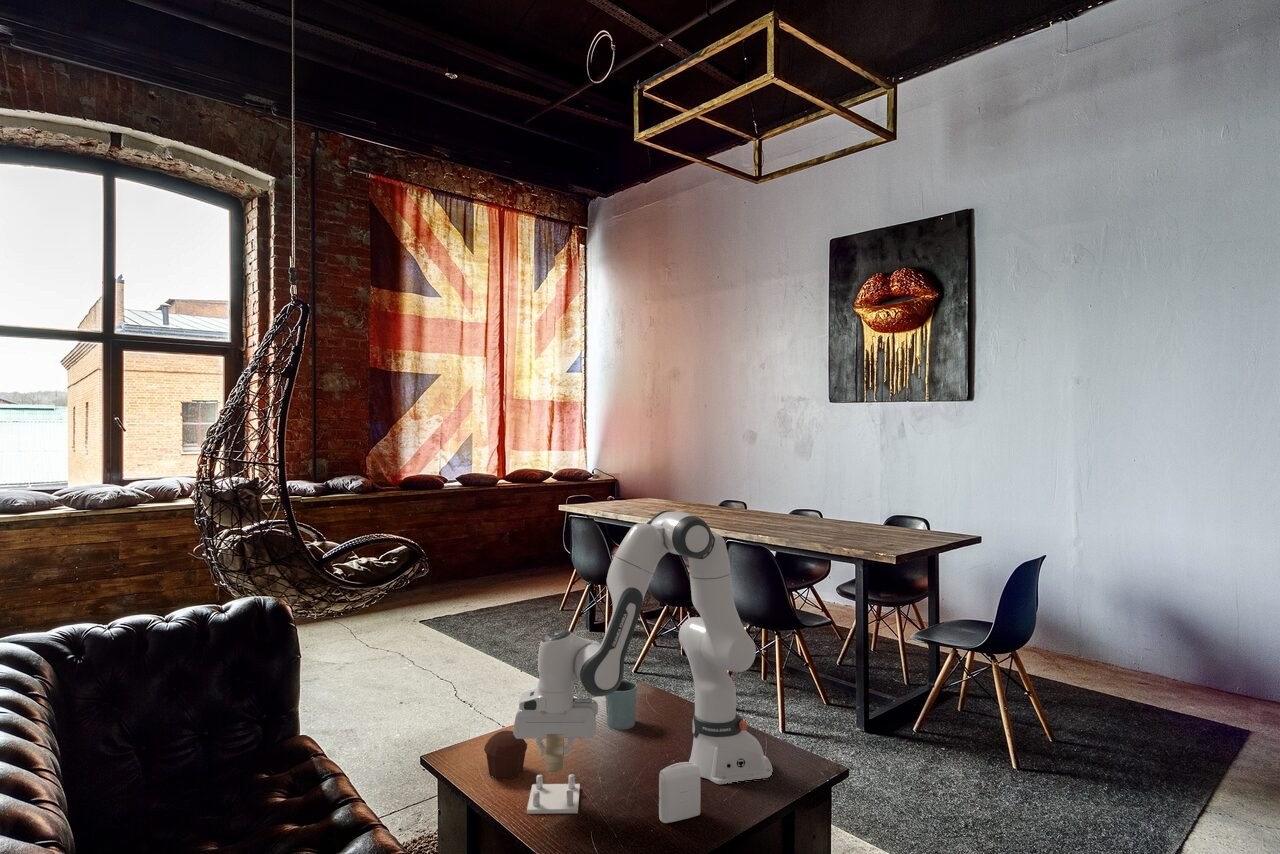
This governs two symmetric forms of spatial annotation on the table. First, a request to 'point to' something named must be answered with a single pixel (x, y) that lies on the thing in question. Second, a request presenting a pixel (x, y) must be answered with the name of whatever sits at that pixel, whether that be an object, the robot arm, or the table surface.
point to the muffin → (505, 755)
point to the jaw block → (554, 753)
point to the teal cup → (622, 706)
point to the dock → (554, 797)
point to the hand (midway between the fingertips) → (555, 754)
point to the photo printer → (679, 792)
